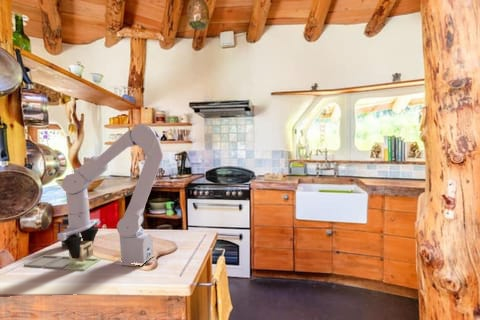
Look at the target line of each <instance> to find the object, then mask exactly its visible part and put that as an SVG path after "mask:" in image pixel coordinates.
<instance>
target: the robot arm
mask: <svg viewBox="0 0 480 320" xmlns="http://www.w3.org/2000/svg"><path fill="white" fill-rule="evenodd" d="M135 146H139V148H141V150H142V151H143V154H144V155H145V159H144V160H145V161H144V163H143V166H142V169H141V171H140V174H139V178H137V179H138V180H137V182H136V185H135V188H134V191H133V193H132V196H131V197H130V198H131V199H130V202H129V204H128V205H127V208H126V210H125V212H124V215H123V216H122V218H120V220H118V222H117V224H116V230H117V233H118V235H119V245H120V246H119V247H120V259H121V261H122V262H121V261H119V260H118V261H116V262H114V263H115V265H121V266H128V267H129V266H131V267H137V266H136V265H135V264H131V263H134V262H135V263H136V262H137V263H145V262H146V261H147V260H148V259H150V258H151V257H152V256H153V254H154V243H153V242H154V241H153V236H152V235H151V234H150V233H146V232H145V231H144V228H143V227H142V224H143V222H144V211H145V207H146V204H147V202H148V198H149V196H150V194H151V191H152V188H153V185H154V183H155V180H156V177H157V174H158V172H159V168H160V166H161V163H162V161H163V158H164V151H163V148H162V143H161V139H160V135H159V134H158V132H157V130H156V129H155V128H154V127H153V126H151V125H148V124H145V123H139V124H137V125H135V126H133V128H132V129H129V130H127V131H126V132H125V133H124V134H123V135H121V136H120V137H119V138H118V139H117V140H115V141H114V143H112V144H111V145H110V146H109V147H108V148H107V149H106V150H105V151H104V152H103V153H102V154H100V155H92V156H88V157H87V158H85V159H84V160H85V162H84V163H82V165H81V166H79V167H78V168H74V169H73V171H72V172H73V173H70V174H66V175H65V177H64V178H63V179H62V182H61V188H62V189H63V191H64V192H65V195H66V197H65V198H66V206H67V207H66V208H67V209H66V210H67V217H68V221H69V226H67V229H65V230H64V231H62V232H59V233H57V241H62V242H63V243H64V244H65V245H66V246H67V248H68V249H67V250H68V253H69V252H70V254H71V257H72V258H73V259H78V258H79V257H80V242H81V241H92V243H93V244H94V242H95V239H96V236H97V234H98V232H99V228H98V227H95V226H99V225H100V219H99V218H92V219H91V216H90V203H89V202H90V201H89V193H88V189H89V187H90V185H91V183H93V182H94V181H95V180H97V179H98V178H99V177H100V176H101V175H102V174H104V173H105V172H106V171H107V170H108V165H109V163H110V162H112V161H113V160H114V159H115V158H116V157H118V156H119V155H120V154H121V153H123V152H124V151H125V150H127V149H128V148H131V147H135ZM77 233H80V237H78V236H77V235H76V234H77ZM62 242H61V243H62ZM151 259H152V258H151ZM151 259H150V260H151Z"/></svg>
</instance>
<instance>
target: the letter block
mask: <svg viewBox="0 0 480 320" xmlns="http://www.w3.org/2000/svg"><path fill="white" fill-rule="evenodd" d="M93 256H94V242H93V243H92V241H83V240H81V242H80V257H79V258H78V259H73V258H72V257H71V254H70V252H69V251H68V257H69V260H70V261H80V262H83V261H84V260H86V259H88V258H92V257H93Z"/></svg>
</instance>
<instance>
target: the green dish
mask: <svg viewBox="0 0 480 320" xmlns="http://www.w3.org/2000/svg"><path fill="white" fill-rule="evenodd" d="M100 261H102V259H101V258H97V257H89V258H88V259H86V260H84V261H83V262H80V261H75V262H73V263H71V264H70V265H68V266H66V267H64V270H69V271H71V270H72V271H84V272H85V271H86V270H88V269H89V268H91V267H93V266H94V265H95V264H97V263H99V262H100Z"/></svg>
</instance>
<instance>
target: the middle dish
mask: <svg viewBox="0 0 480 320" xmlns="http://www.w3.org/2000/svg"><path fill="white" fill-rule="evenodd" d="M73 262H75V261H70V260H69V255H68V256H66V255H63V256H62V255H61V257H60V258H58V259H56V260H54V261H52V262H50V263H49V264H47V265H45V266H44V267H43V269H57V270H65V268H64V267H66V266H68V265H70V264H71V263H73Z"/></svg>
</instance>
